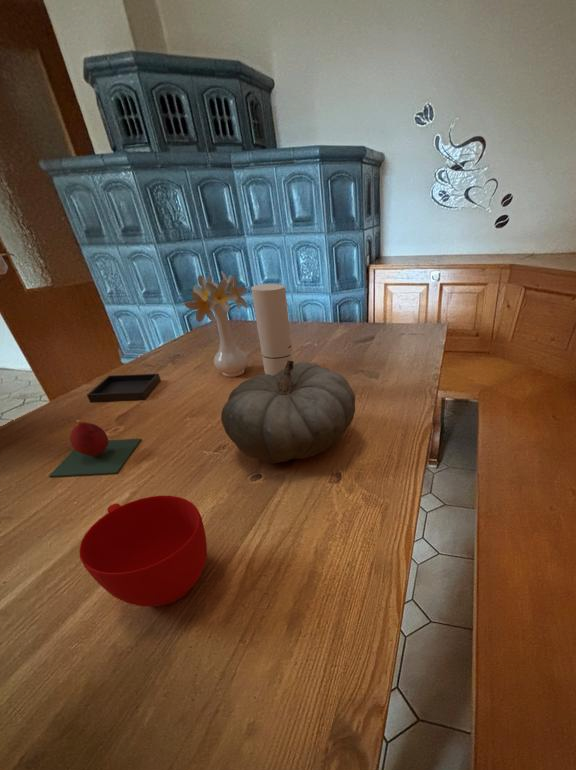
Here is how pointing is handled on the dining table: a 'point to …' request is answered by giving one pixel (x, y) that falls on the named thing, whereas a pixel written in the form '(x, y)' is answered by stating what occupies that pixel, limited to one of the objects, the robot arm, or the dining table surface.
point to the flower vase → (221, 319)
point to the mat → (97, 460)
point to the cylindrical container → (272, 326)
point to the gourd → (289, 412)
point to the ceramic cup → (147, 550)
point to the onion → (88, 439)
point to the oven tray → (124, 388)
